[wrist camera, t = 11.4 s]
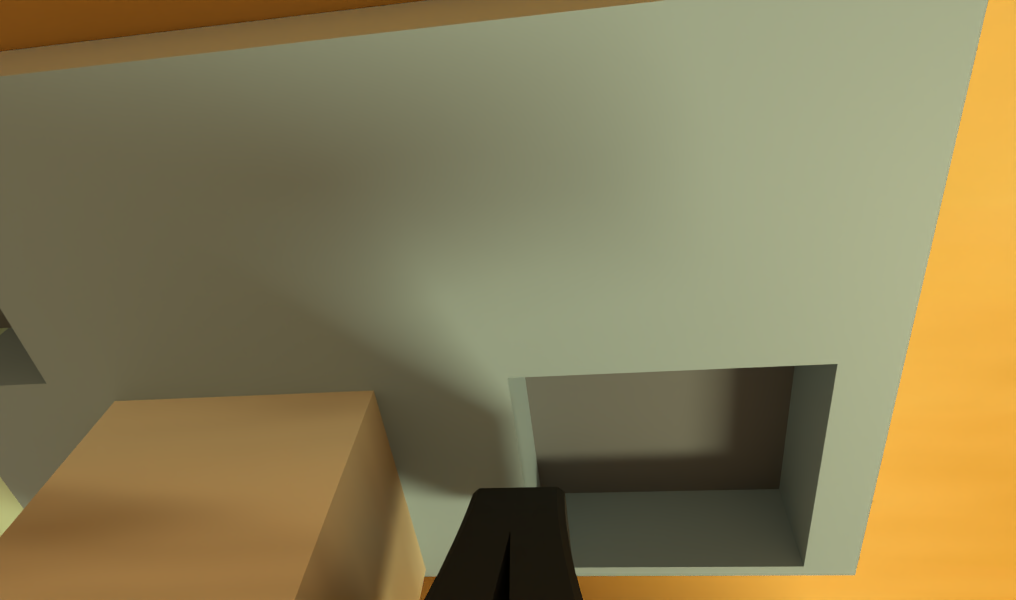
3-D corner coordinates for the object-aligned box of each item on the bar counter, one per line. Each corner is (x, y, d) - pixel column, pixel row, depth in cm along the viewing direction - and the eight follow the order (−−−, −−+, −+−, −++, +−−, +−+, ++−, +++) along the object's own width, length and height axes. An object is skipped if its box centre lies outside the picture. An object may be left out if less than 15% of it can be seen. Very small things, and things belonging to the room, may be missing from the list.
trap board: (821, 489, 14) (911, 722, 10) (-79, 506, 17) (-267, 693, 13) (916, -59, 9) (1175, 7, 5) (-422, 102, 12) (-903, 222, 8)
